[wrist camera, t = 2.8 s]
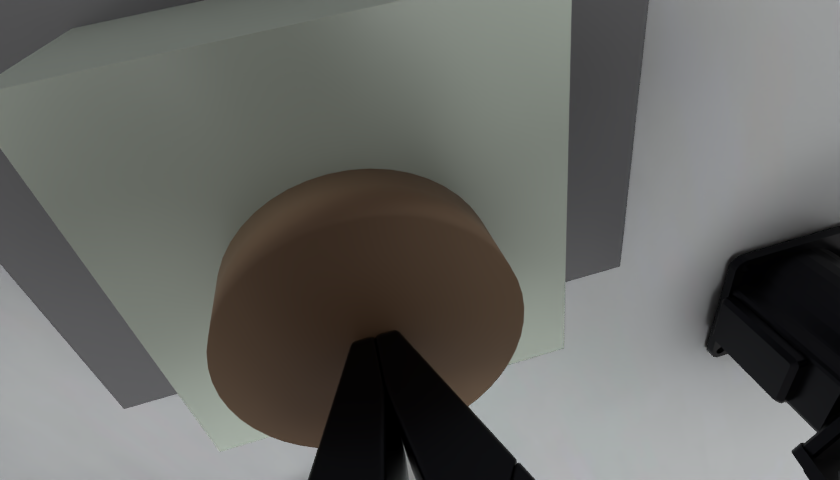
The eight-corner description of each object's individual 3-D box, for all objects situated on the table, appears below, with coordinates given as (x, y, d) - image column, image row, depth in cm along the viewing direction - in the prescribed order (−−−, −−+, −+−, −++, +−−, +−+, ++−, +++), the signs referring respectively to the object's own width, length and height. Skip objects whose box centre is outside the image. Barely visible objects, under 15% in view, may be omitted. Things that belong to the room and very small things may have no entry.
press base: (659, -220, 12) (882, -289, 8) (613, 259, 21) (703, 355, 16) (-246, -52, 10) (-653, -13, 6) (127, 398, 19) (81, 550, 14)
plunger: (419, 61, 13) (518, 175, 7) (446, 236, 16) (528, 399, 11) (198, 113, 12) (140, 274, 7) (274, 283, 15) (272, 479, 10)
